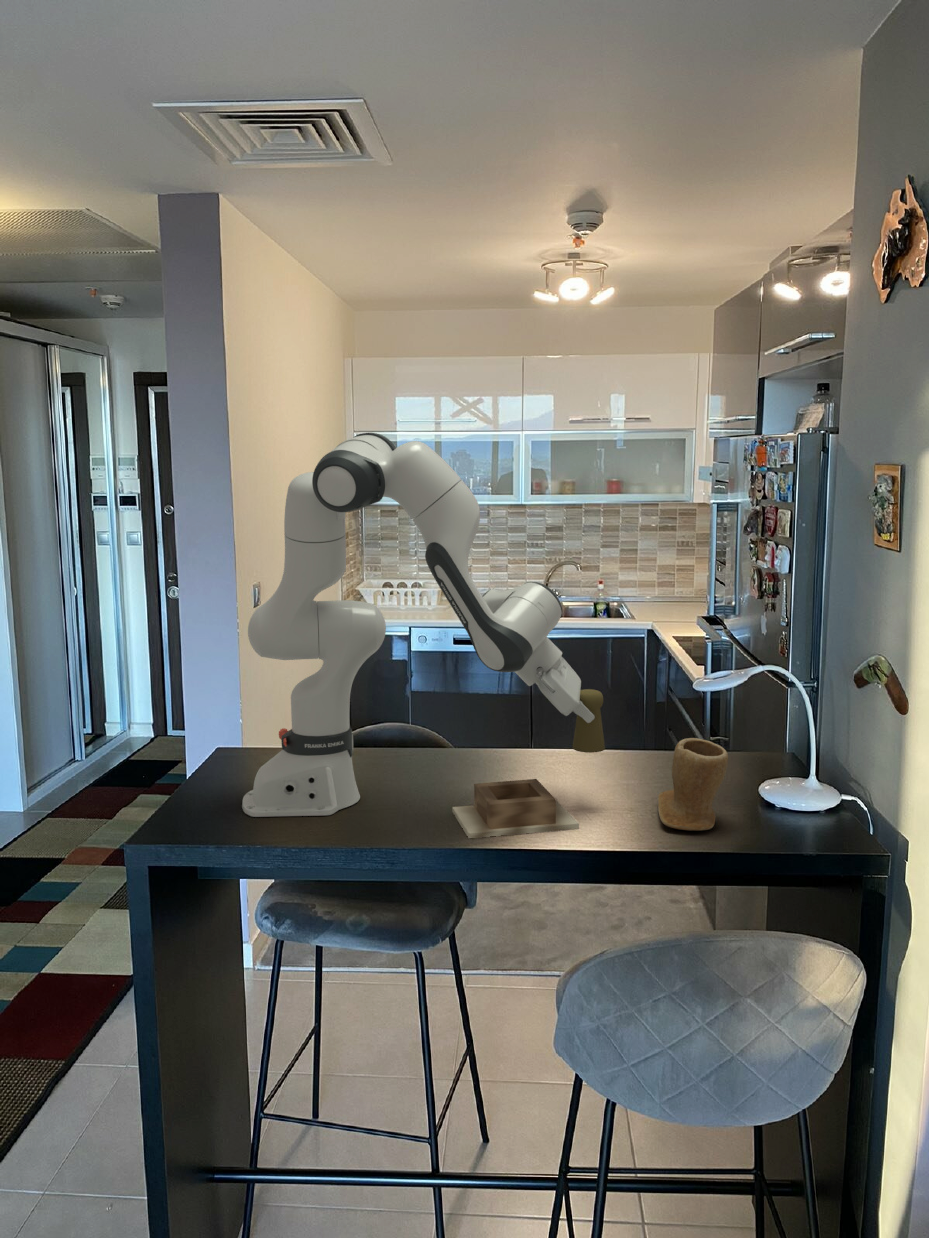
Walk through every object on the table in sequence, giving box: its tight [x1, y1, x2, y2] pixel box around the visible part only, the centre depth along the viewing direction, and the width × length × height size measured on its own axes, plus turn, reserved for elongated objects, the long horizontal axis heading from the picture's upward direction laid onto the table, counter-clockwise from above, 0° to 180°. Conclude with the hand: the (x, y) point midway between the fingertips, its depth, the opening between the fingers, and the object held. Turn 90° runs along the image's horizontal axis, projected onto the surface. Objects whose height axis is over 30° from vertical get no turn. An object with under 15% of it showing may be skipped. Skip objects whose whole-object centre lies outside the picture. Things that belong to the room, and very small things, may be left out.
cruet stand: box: [451, 778, 580, 839], centre depth 175 cm, size 20×14×6 cm
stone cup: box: [657, 737, 729, 831], centre depth 173 cm, size 15×12×15 cm
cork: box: [572, 688, 606, 754], centre depth 178 cm, size 6×6×11 cm
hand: (592, 716), depth 178 cm, fingers closed on cork, 4 cm apart
